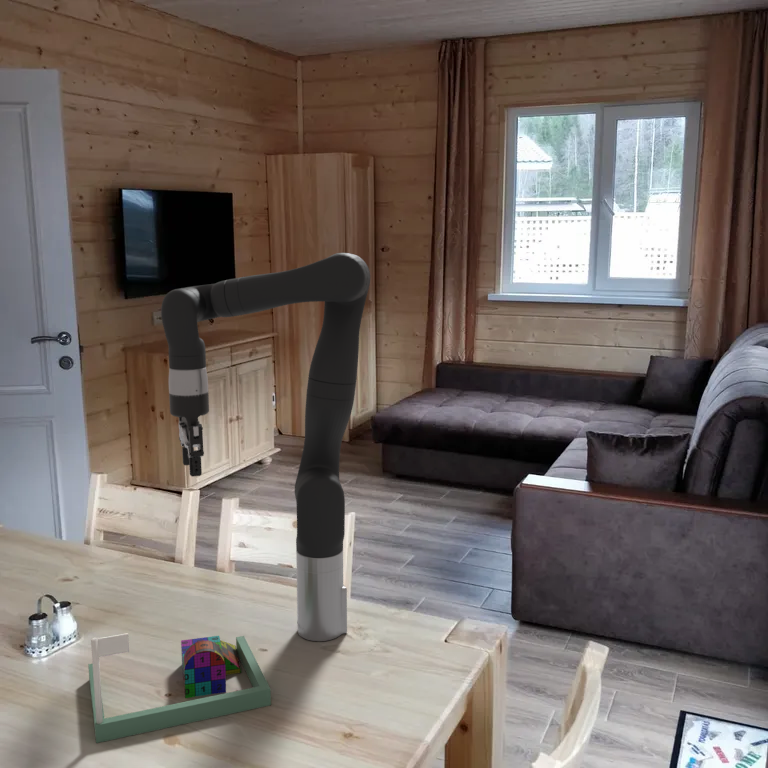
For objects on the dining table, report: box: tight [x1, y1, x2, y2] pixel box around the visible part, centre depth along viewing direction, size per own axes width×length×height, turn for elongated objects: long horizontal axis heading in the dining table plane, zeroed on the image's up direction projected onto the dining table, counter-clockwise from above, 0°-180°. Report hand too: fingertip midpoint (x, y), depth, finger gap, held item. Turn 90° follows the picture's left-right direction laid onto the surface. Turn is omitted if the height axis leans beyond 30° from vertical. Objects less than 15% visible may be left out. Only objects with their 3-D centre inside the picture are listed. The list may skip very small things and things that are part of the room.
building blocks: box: [180, 635, 242, 699], centre depth 148 cm, size 15×10×8 cm
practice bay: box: [88, 632, 272, 744], centre depth 141 cm, size 28×20×17 cm
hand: (192, 470), depth 163 cm, fingers open, 8 cm apart
